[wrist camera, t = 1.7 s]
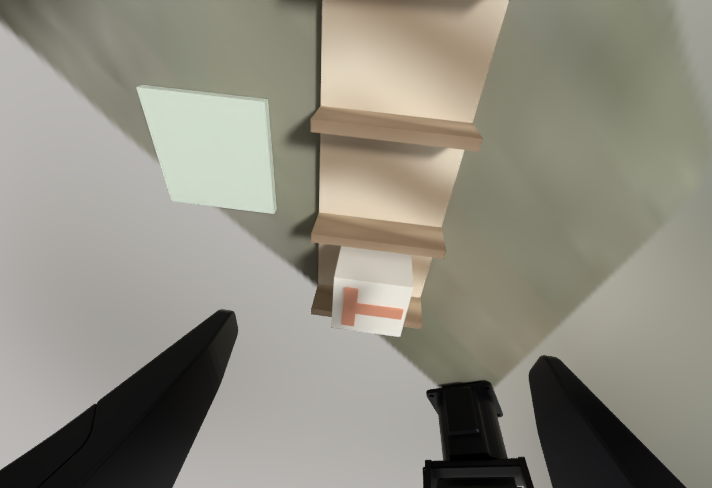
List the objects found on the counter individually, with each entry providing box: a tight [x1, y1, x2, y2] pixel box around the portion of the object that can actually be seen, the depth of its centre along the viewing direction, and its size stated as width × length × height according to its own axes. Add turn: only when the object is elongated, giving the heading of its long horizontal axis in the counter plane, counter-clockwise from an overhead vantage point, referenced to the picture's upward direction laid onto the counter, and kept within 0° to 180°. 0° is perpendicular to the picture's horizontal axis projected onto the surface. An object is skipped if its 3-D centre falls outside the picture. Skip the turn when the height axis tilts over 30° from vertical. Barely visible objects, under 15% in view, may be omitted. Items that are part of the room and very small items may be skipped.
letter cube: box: [331, 246, 413, 337], centre depth 21 cm, size 4×4×5 cm
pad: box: [136, 85, 277, 214], centre depth 19 cm, size 7×7×1 cm
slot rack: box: [311, 0, 509, 329], centre depth 18 cm, size 20×8×3 cm, turn 175°
